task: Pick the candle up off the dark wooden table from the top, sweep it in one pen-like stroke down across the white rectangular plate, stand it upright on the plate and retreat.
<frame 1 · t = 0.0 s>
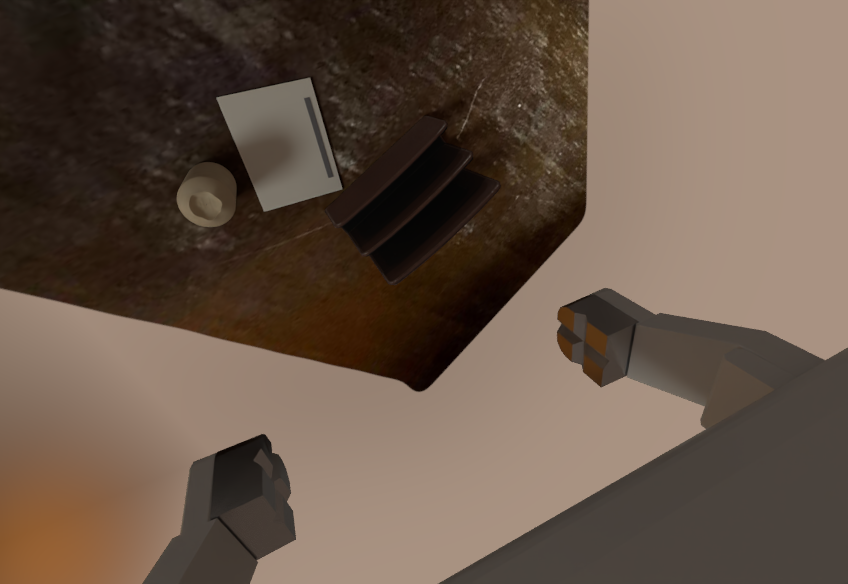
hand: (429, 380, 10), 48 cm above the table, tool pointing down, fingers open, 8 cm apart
letter holder: (394, 187, 58), on the table
candle: (212, 183, 48), on the table
white rectangular plate: (285, 147, 49), on the table
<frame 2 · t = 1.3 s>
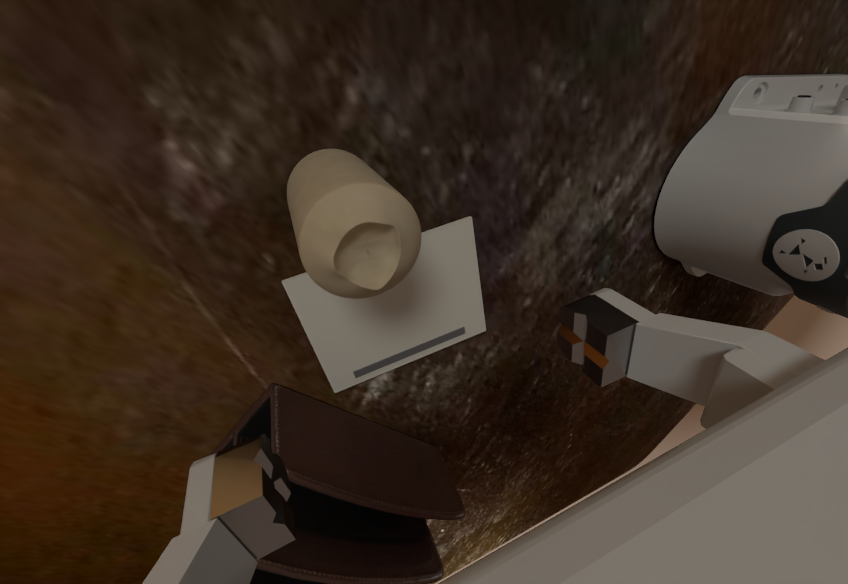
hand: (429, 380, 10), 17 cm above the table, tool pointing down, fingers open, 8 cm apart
letter holder: (334, 452, 36), on the table
candle: (332, 192, 24), on the table
white rectangular plate: (398, 308, 30), on the table
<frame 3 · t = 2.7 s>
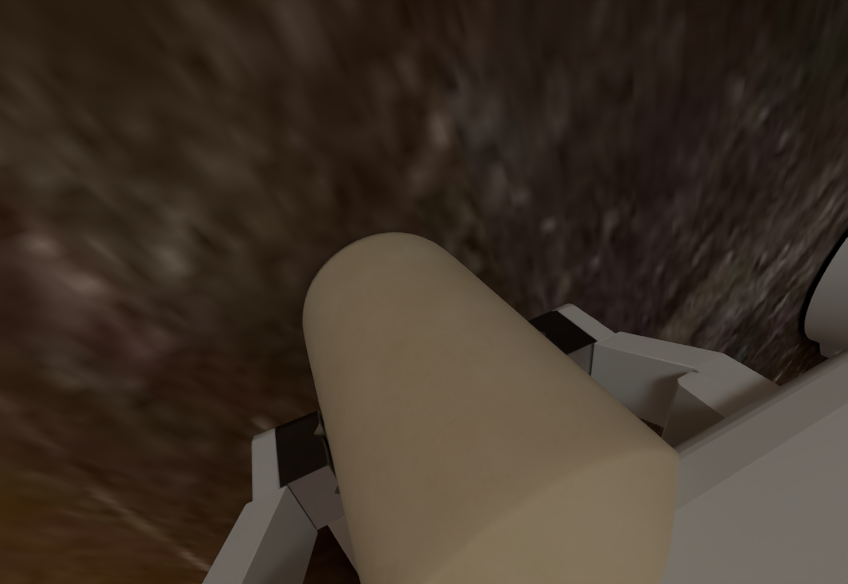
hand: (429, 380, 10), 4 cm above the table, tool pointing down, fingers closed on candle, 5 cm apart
candle: (384, 305, 13), on the table, touching gripper
white rectangular plate: (469, 456, 19), on the table
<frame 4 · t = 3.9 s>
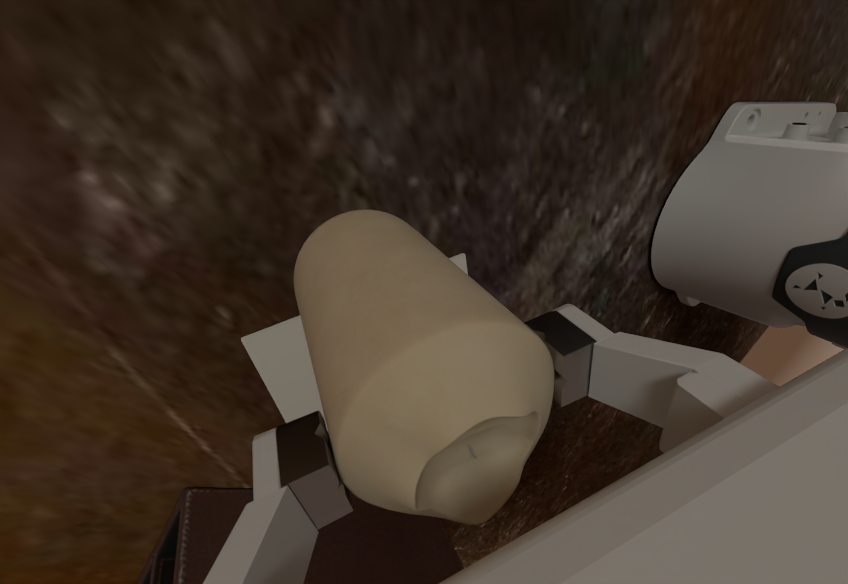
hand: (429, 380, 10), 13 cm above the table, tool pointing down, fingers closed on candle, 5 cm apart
letter holder: (300, 531, 30), on the table
candle: (361, 271, 16), point 6 cm above the table, touching gripper
white rectangular plate: (382, 359, 26), on the table
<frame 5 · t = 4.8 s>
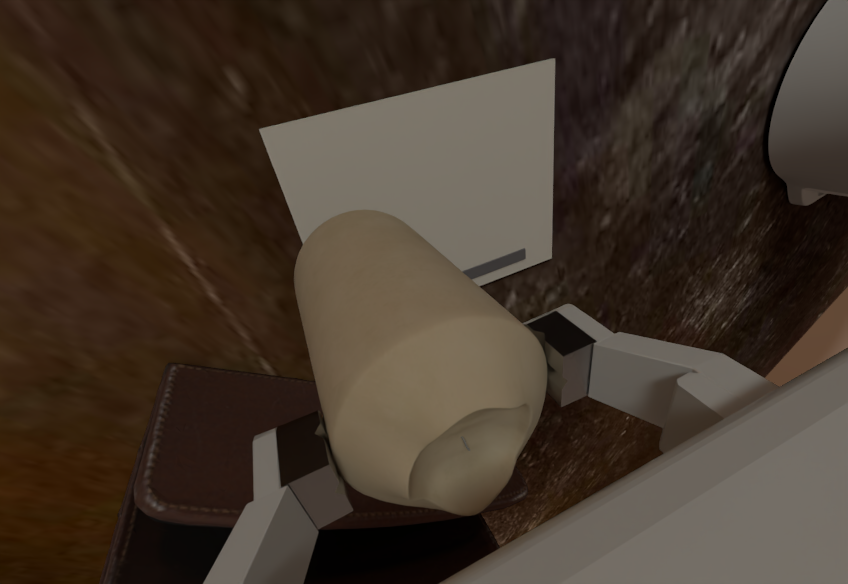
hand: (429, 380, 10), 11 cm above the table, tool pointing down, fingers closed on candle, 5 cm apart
letter holder: (324, 440, 25), on the table
candle: (360, 271, 16), point 3 cm above the table, touching gripper
white rectangular plate: (437, 207, 20), on the table
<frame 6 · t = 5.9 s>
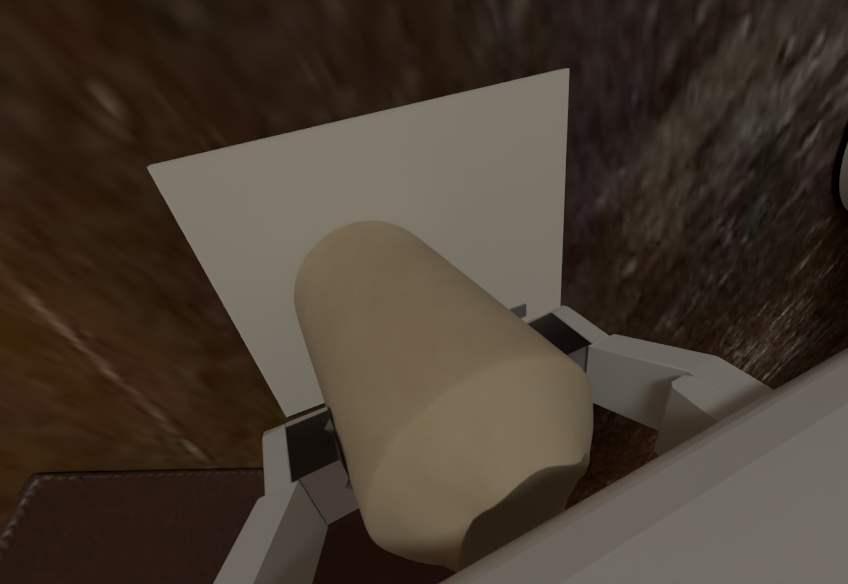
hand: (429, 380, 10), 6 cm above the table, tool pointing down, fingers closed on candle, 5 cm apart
letter holder: (274, 522, 21), on the table
candle: (365, 285, 15), resting on white rectangular plate, touching gripper
white rectangular plate: (410, 258, 15), on the table
when the fingers open (6 cm above the table, at t = 6.2 s): candle stays where it is, resting on white rectangular plate.
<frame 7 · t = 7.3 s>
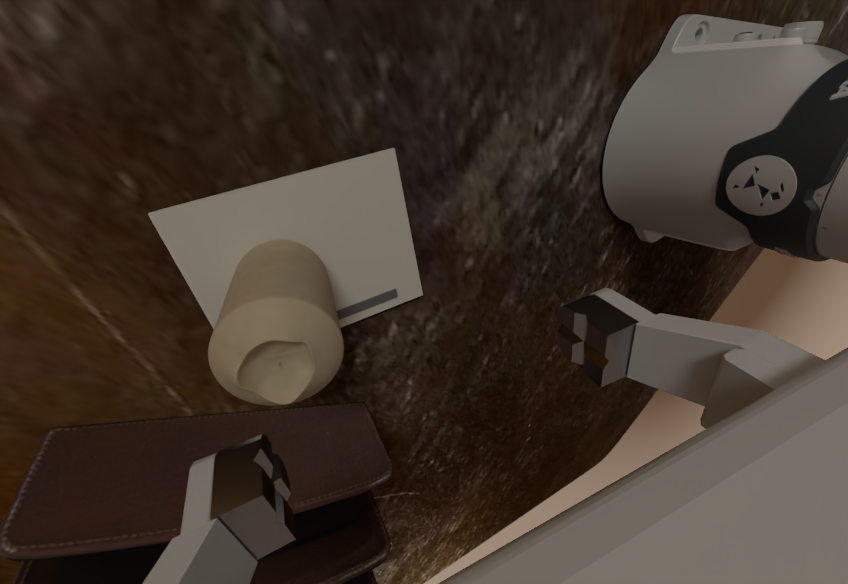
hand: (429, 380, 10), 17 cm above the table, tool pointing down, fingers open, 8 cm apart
letter holder: (228, 459, 29), on the table
candle: (283, 279, 24), point 1 cm above the table, touching white rectangular plate
white rectangular plate: (311, 261, 25), on the table
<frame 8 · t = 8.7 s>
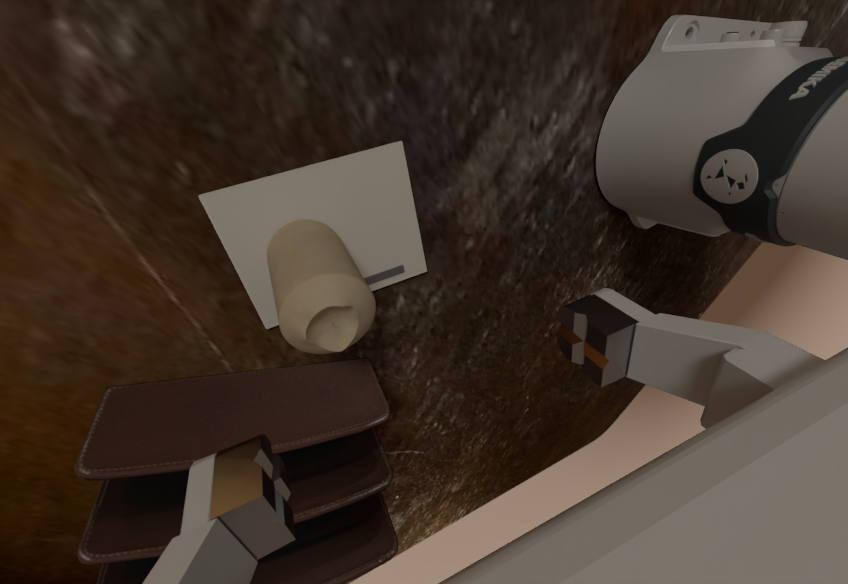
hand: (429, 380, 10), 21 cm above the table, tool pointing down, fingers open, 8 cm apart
letter holder: (256, 410, 34), on the table
candle: (305, 252, 29), resting on white rectangular plate
white rectangular plate: (330, 238, 29), on the table
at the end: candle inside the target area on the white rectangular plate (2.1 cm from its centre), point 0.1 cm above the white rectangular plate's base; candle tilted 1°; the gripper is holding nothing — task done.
